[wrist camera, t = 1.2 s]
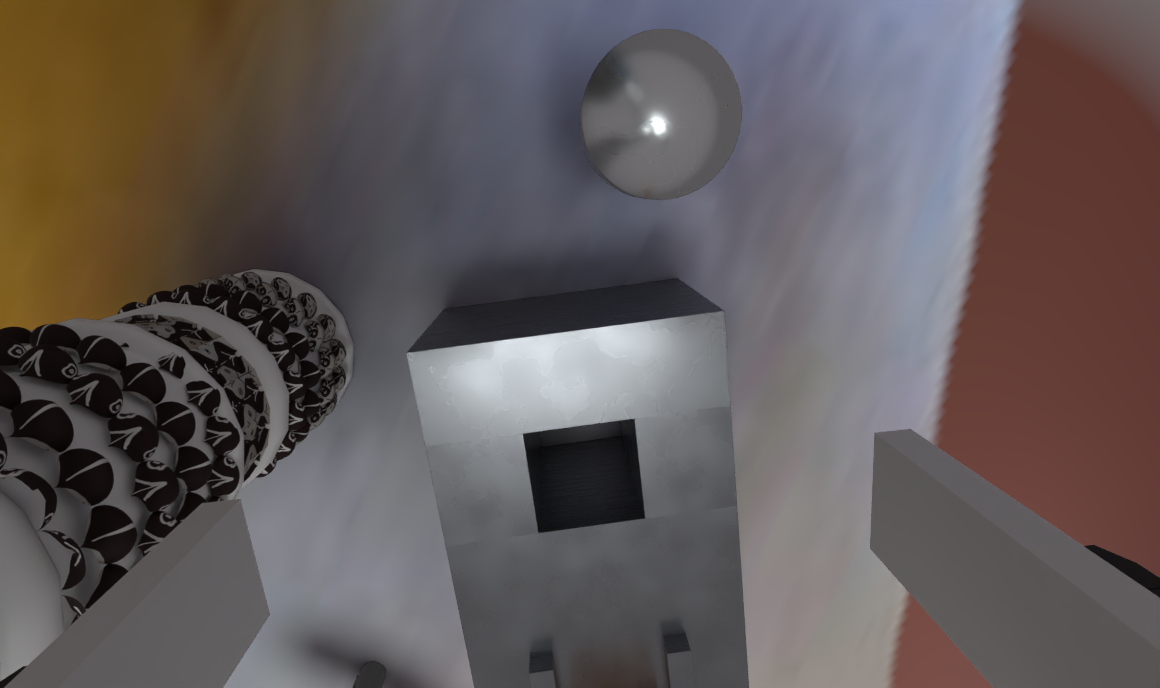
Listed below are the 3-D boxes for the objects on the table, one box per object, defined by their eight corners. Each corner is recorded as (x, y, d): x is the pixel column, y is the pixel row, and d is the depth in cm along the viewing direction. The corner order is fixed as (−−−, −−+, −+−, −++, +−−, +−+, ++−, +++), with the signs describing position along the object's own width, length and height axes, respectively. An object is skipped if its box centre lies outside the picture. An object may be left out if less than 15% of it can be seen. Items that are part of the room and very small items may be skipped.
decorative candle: (400, 341, 31) (-100, 860, 7) (293, 468, 33) (-425, 1260, 9) (247, 221, 30) (-1118, 374, 5) (141, 361, 31) (-1317, 983, 7)
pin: (564, 89, 29) (572, 39, 19) (673, 75, 29) (737, 19, 19) (577, 202, 30) (592, 209, 20) (682, 188, 30) (745, 189, 20)
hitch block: (444, 309, 31) (400, 360, 22) (678, 278, 31) (732, 316, 22) (510, 667, 37) (497, 829, 27) (708, 639, 37) (761, 790, 28)
